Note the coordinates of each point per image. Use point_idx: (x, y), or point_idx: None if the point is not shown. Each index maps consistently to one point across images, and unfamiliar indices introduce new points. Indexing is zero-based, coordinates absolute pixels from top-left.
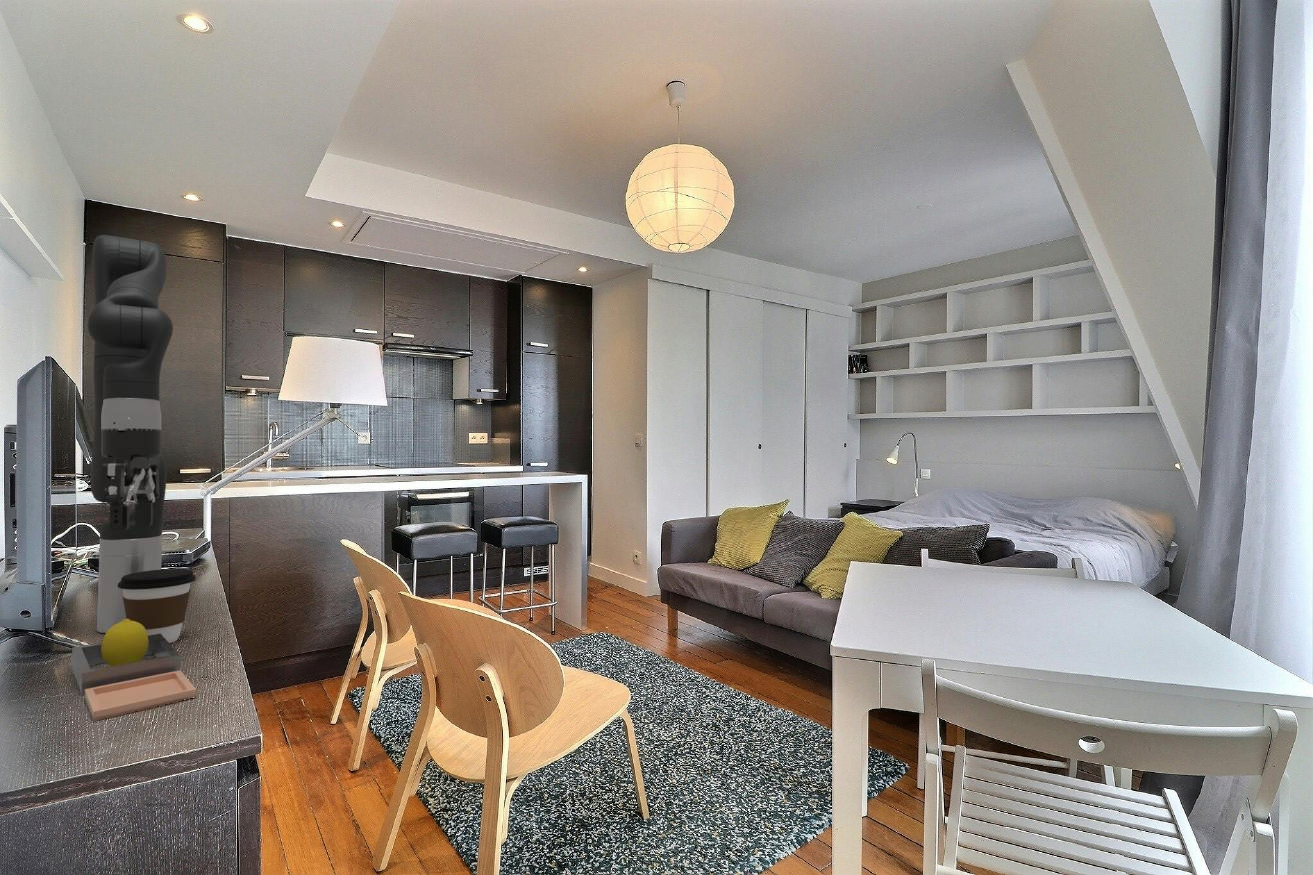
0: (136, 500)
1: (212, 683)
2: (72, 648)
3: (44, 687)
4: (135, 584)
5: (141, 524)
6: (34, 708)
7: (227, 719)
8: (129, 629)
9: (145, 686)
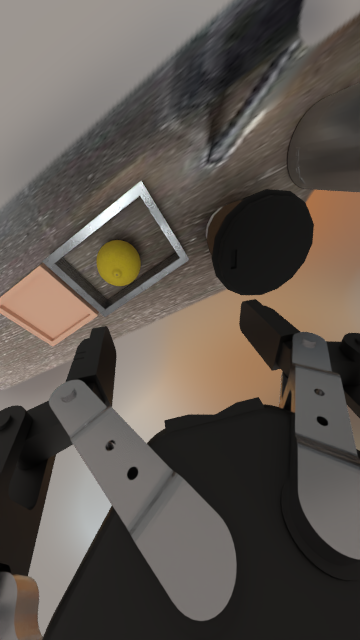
0: (290, 348)
1: (87, 337)
2: (137, 184)
3: (69, 197)
4: (220, 241)
5: (242, 313)
6: (9, 231)
7: (21, 373)
8: (107, 280)
9: (69, 301)
